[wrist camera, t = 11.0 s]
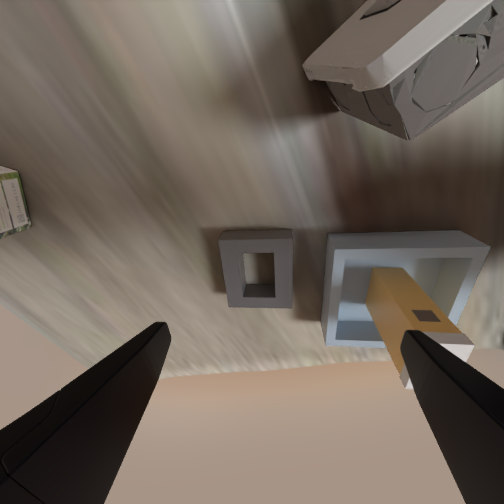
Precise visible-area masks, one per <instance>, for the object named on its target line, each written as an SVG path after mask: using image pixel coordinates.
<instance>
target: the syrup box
mask: <svg viewBox="0 0 504 504" xmlns="http://www.w3.org/2000/svg"><path fill="white" fill-rule="evenodd" d="M31 227H32V226H31V222H30V217H29V213H28V210H27V205H26V201H25V197H24V193H23V189H22V185H21V180H20V177H19V173H18V171H15V170H12V169H9V168H6V167H2V166H0V239H1V238H4V237H6V236H9V235H12V234H15V233H18V232H20V231H23V230H25V229H28V228H31Z"/></svg>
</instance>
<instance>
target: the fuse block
mask: <svg viewBox="0 0 504 504" xmlns="http://www.w3.org/2000/svg"><path fill="white" fill-rule="evenodd" d="M218 243H219V249H220V256H221V262H222V268H223V274H224V281H225V287H226V293H227V299H228V305H229V307H247V308H292V286H293V237H292V229H282V230H248V231H224V232H223V233H222V235H221V236H220V238H219V240H218ZM243 253H274V269H275V285H246V279H245V270H244V261H243Z"/></svg>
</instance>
